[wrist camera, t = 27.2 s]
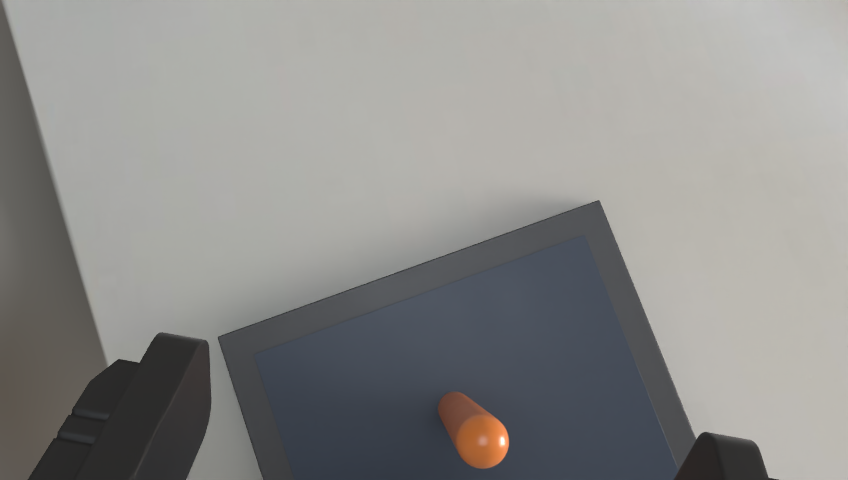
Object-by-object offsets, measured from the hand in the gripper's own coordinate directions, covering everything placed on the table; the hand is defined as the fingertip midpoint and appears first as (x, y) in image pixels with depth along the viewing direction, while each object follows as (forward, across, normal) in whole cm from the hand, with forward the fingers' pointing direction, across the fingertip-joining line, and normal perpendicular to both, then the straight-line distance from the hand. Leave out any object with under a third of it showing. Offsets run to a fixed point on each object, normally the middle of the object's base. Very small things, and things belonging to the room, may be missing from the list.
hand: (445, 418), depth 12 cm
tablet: (+16, -3, +20) cm, 25 cm away
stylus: (+16, -2, +18) cm, 24 cm away
